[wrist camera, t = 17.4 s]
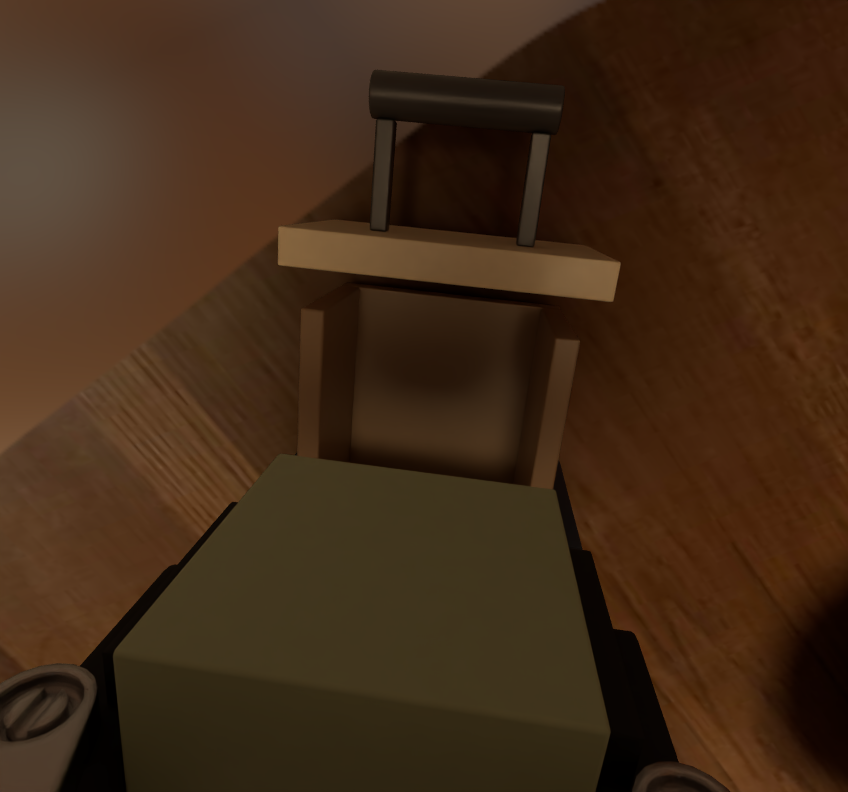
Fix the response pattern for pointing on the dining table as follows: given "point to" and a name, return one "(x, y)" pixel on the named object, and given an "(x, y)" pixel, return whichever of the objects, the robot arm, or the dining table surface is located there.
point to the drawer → (443, 311)
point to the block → (367, 644)
